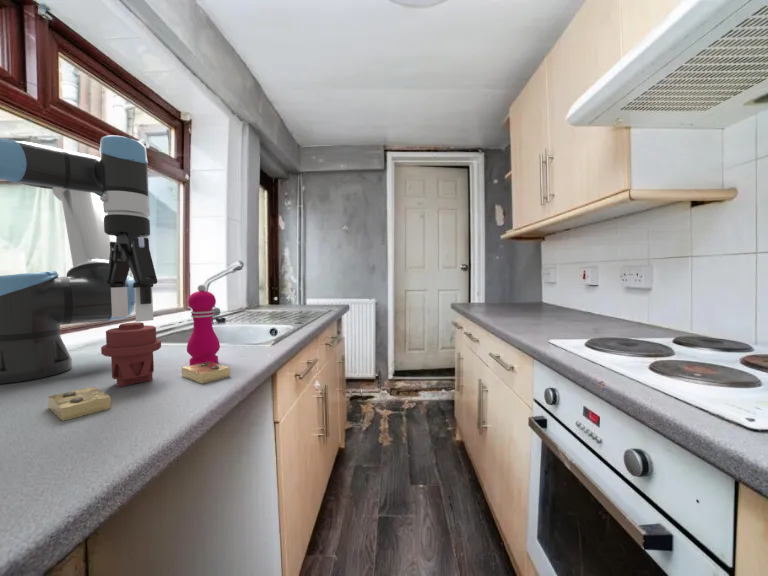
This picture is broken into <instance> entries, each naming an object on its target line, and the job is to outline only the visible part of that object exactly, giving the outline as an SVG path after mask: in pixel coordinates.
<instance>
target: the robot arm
mask: <svg viewBox="0 0 768 576" xmlns="http://www.w3.org/2000/svg"><path fill="white" fill-rule="evenodd" d="M99 143H100V145H99V146H100V147H99V151H98V152H99V153H100V157H99V156H95V155H92V154H91V155H90V154H89V153H85V152H81V153H80V152H76V151H72V150H68V149H67V150H66V149H62V148H60V147H59V148H58V147H54V146H49V145H45V144H39V143H34V142H29V141H20V140H19V141H18V140H15V139H11V138H2V137H0V180H3V181H7V182H12V183H17V184H20V185H24V186H28V187H33V188H39V189H40V188H41V189H48V190H51V191H52V193H53V194H52V195H54V197H55V198H57V199H58V200H59V201H61V202H62V208H63V209H62V210H63V214H64V215H63V216H64V221H65V227H66V231H67V232H66V233H67V240H68V244H69V249H70V256H71V262H72V267H71V268H70V269H69V270H68V271H67V272H66V276H59V275H60V274H59V273H58V272H57V270H49V271H48V270H47V271H38V272H27V273H15V274H4V275H0V384H3V385H4V384H9V383H10V384H12V383H18V382H25V381H30V380H36V379H37V380H38V379H41V378H46V377H50V376H54V375H57V374H62V373H64V372H66V371H69V370H71V369H73V359H72V356H71V355H70V353H69V351H68V349H67V347H66V345H65V343H64V342H63V340H62V337H61V326H64V325H75V324H86V323H87V324H88V323H98V322H99V323H101V322H112V321H116V320H124V319H127V318H129V317H130V316H131V314H132V313H133V311H134V308H135V322H147V321H148V322H149V321H154V307H153V305H154V303H153V302H154V301H153V288H154V285H157V283H158V279H157V274H156V269H155V266H154V262H153V257H152V255H151V254H152V253H151V250H150V243H149V238H148V237H149V236H150V235H151V222H150V219H149V218H147V217H149V216H150V215H151V214H150V213H151V212H150V211H151V210H150V196H149V177H148V175H149V171H148V164H149V160H148V156H147V155H148V154H147V148H146V147H145V145H144V144H143V143H142V142H140V141H139V140H136V139H134V138H131V137H128V136H127V137H126V136H122V135H113V134H111V135H105V136H102V137H101V138H100V142H99ZM105 214H106V215H105ZM110 236H115V237H116V240H115V241H111V239H110ZM129 272H131V275H129Z"/></svg>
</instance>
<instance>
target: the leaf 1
mask: <svg viewBox="0 0 768 576" xmlns="http://www.w3.org/2000/svg"><path fill="white" fill-rule="evenodd" d="M47 399H48V409H49V410H51V411H53V412H54V413H53V414H54V415H55V416H56V415H57V416H56V417H57V418H58V419H59V418H60V419H61V420H62V421H61V420H60V419H59V420H60V421H61V422H65V421H68V420H69V421H70V420H72V419H76V418H80V417H83V415H84V416H88V415H91V414H94V413H98V412H103V411H106V410H109V409H111V408H112V401H111V396H110V395H109V394H107V393H105V392H103V391H102V390H101V389H99V388H97V387H95V386H89V387H85V388H81V389H76V390H71V391H68V392H67V391H66V392H62V393H58V394H53V395H48V398H47ZM102 410H103V411H102ZM87 414H88V415H87ZM64 420H65V421H64Z"/></svg>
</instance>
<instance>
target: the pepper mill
mask: <svg viewBox="0 0 768 576" xmlns="http://www.w3.org/2000/svg"><path fill="white" fill-rule="evenodd" d="M206 288H207V287H206V286H205V285H204V284H199V285H198V286H197V290H198V291H195V292H192V293H191V294H190V295H189V297H188V300H187V303H188V307H190V309H191V310H192V311H190V314H191V316H190V317H191V318H192V319H193V320H192V321H193V328H192V332H191V335H190V337H189V339H188V341H187V345H186V352H187V354H188V355H190V357H191V358H190V359H189V360H188V361H189V366H190V365H195V364H199V363H204V362H213V363H216V364H217V363H218V364H219V357H218V355H217V353H219V351H220V347H221V345H220V341H219V338H218V335H216V332H215V331H214V328H213V322H212V321H213V317H214V315H215V313H214V312H215V310H213V308H214V307H215V306H216V304H217V300H216V297H215V295H214V294H213V293H212V292H211V291H207V289H206Z"/></svg>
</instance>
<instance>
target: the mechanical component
mask: <svg viewBox="0 0 768 576" xmlns="http://www.w3.org/2000/svg"><path fill="white" fill-rule="evenodd" d="M105 338H106V340H105V342H106V343H105V344H104V345H102V346H101V347H100V351H101V352H100V354H101V355H102V356H104V357H108V358H109V357H110V358H111V359H110V360H111V377H112V379H114V380H116V386H117V387H119V388H121V387H126V386H129V385H134V384H139V383H144V382H145V381H146V382H150V381H152V380H153V378H154V377H153V373H154V372H155V369H154V368H155V367H154V366H155V365H154V352H156V351H159V350H160V349H161V348H162V341H161V340H160V339H157V327H156V326H155V325H145V324H144V322H142V321H140V322H136V321H135V322H134V321H133V322H125V323H121V324H119V325H118V327H113V328H110V329H107V330H106V331H105Z"/></svg>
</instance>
